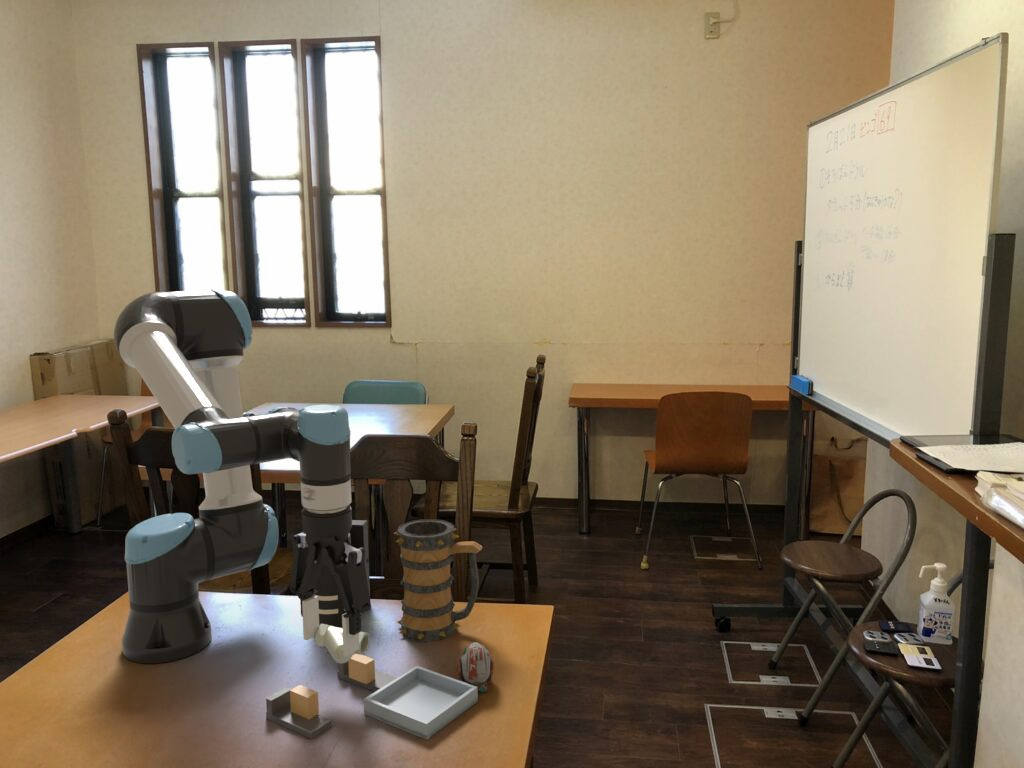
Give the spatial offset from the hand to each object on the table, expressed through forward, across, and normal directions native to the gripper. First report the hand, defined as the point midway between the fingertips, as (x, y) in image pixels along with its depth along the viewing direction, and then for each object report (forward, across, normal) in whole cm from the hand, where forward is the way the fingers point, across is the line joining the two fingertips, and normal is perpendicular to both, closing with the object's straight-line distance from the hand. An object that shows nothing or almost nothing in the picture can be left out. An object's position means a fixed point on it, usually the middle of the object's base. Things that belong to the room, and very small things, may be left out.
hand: (331, 643), depth 130 cm
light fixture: (+10, -21, +22) cm, 32 cm away
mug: (+10, -1, +29) cm, 30 cm away
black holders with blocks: (+9, +1, 0) cm, 9 cm away
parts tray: (+9, +14, +6) cm, 17 cm away
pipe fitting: (+2, 0, +1) cm, 3 cm away
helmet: (+9, +16, +16) cm, 25 cm away
